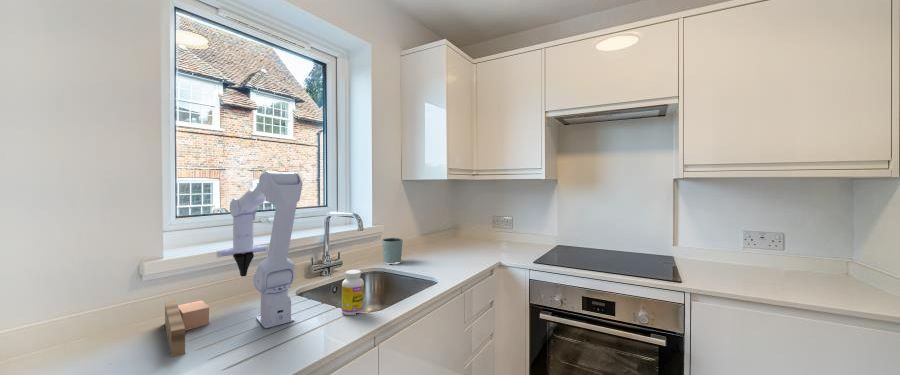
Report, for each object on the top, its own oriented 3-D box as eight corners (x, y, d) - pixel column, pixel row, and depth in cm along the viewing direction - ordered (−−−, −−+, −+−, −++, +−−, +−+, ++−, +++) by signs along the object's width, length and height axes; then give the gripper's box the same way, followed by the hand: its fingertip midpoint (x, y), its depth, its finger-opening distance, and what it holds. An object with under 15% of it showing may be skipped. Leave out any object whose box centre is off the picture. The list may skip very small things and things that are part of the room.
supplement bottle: (351, 317, 101) (352, 275, 101) (337, 313, 105) (337, 272, 104) (367, 310, 107) (368, 270, 106) (353, 306, 110) (354, 267, 110)
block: (209, 324, 95) (209, 307, 95) (182, 331, 91) (182, 313, 91) (202, 316, 101) (202, 300, 101) (177, 322, 96) (176, 305, 96)
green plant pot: (403, 260, 173) (403, 237, 173) (401, 265, 163) (401, 241, 163) (383, 260, 173) (383, 237, 172) (380, 265, 162) (380, 241, 162)
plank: (185, 353, 79) (185, 328, 79) (171, 356, 78) (171, 331, 77) (176, 321, 97) (176, 300, 97) (164, 323, 95) (164, 302, 95)
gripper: (264, 231, 118) (264, 269, 119) (214, 235, 108) (214, 277, 109) (270, 233, 113) (269, 273, 113) (218, 238, 103) (218, 282, 104)
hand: (243, 275), depth 111 cm, fingers closed
